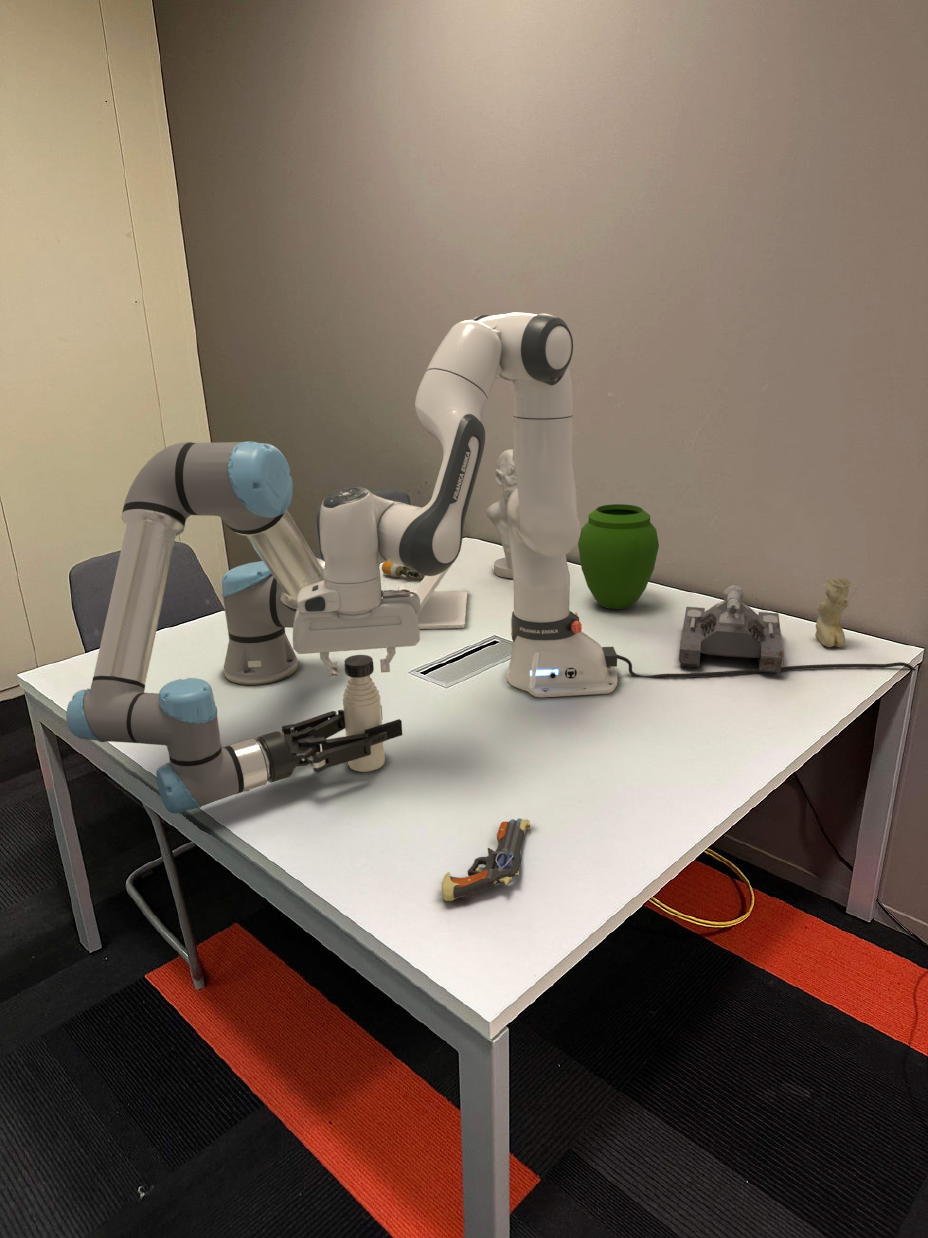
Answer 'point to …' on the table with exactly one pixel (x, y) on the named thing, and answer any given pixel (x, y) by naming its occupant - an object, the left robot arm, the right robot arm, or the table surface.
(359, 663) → the cap
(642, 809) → the table surface
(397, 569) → the spray gun
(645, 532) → the vase
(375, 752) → the bottle
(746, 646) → the toy
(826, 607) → the sculpture
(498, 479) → the bust sculpture
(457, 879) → the toy gun
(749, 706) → the table surface
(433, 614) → the tablet stand
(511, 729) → the table surface
